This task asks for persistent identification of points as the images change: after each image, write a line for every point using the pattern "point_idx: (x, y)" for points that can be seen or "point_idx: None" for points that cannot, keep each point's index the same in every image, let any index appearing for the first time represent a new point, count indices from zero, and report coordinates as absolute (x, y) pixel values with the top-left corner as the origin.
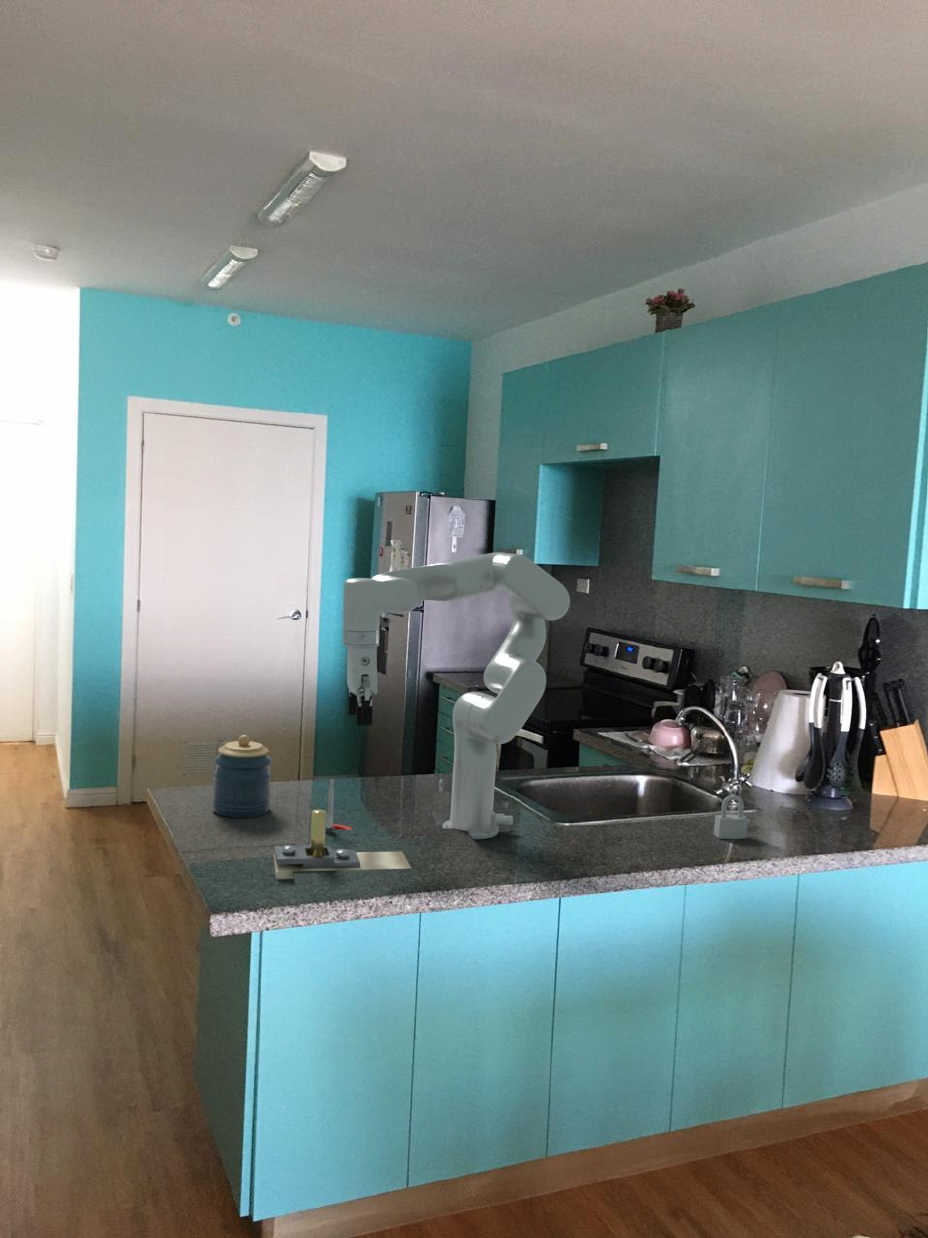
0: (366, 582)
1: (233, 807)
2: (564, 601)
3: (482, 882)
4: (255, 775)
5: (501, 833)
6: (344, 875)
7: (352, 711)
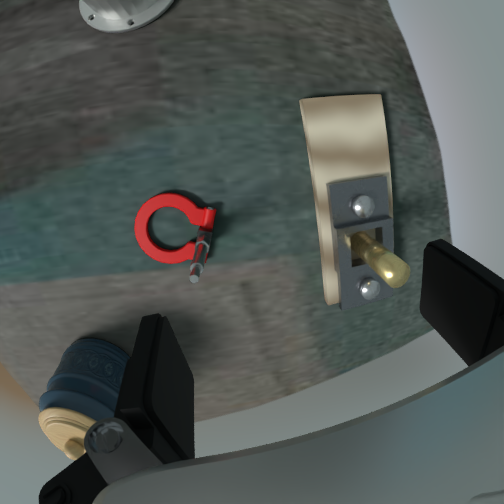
0: None
1: None
2: None
3: (382, 4)
4: (110, 398)
5: None
6: None
7: (186, 378)
